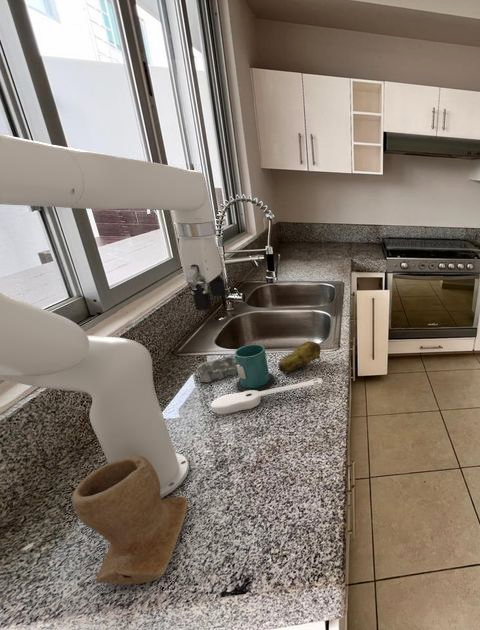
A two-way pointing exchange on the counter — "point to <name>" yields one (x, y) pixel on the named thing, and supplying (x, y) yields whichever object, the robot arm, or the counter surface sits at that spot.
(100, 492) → the stone cup
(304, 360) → the olive green oblong piece
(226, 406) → the white handheld wand
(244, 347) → the bin
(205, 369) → the egg carton
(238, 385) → the bin stand
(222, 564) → the counter surface
